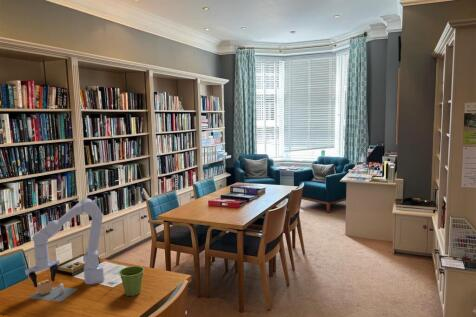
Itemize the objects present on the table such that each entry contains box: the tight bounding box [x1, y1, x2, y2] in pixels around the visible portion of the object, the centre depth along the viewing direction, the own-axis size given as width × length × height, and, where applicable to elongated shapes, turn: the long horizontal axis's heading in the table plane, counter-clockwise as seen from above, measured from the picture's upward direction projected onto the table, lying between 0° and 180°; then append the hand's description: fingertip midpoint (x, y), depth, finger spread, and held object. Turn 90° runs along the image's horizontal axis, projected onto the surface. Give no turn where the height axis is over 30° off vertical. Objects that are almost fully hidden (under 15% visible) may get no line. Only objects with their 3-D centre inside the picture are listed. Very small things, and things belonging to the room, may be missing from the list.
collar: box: [36, 279, 53, 294], centre depth 167 cm, size 5×5×4 cm
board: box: [27, 281, 78, 302], centre depth 166 cm, size 18×12×6 cm, turn 78°
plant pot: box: [118, 265, 145, 297], centre depth 168 cm, size 12×12×11 cm
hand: (44, 283), depth 167 cm, fingers open, 7 cm apart
